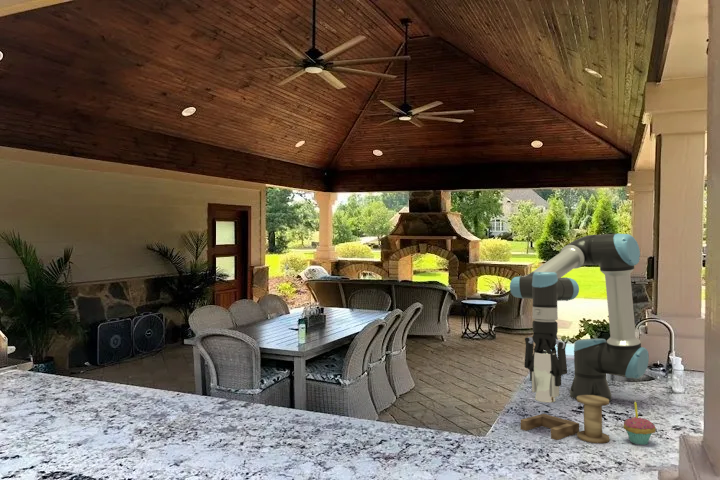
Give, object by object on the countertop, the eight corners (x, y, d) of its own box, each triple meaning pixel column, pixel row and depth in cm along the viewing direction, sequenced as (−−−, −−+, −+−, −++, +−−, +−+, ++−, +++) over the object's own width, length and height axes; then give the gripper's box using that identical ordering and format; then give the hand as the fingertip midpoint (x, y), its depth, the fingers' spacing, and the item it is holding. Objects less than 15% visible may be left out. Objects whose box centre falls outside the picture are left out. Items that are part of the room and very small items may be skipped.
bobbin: (587, 432, 169) (587, 393, 169) (615, 439, 161) (614, 399, 162) (571, 437, 163) (570, 397, 164) (599, 445, 156) (598, 403, 157)
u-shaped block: (543, 422, 178) (543, 413, 178) (579, 432, 168) (579, 423, 168) (520, 429, 171) (520, 419, 171) (556, 440, 161) (556, 430, 161)
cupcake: (617, 437, 163) (617, 397, 164) (644, 437, 164) (643, 397, 165) (634, 447, 155) (633, 405, 155) (662, 446, 156) (661, 404, 156)
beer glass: (558, 403, 164) (558, 354, 165) (535, 402, 166) (534, 353, 167) (555, 398, 171) (554, 350, 172) (532, 397, 173) (532, 350, 173)
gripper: (512, 318, 175) (512, 389, 174) (565, 324, 160) (566, 402, 159) (526, 317, 180) (526, 386, 179) (579, 322, 164) (580, 398, 163)
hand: (545, 393), depth 169 cm, fingers closed on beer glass, 6 cm apart
